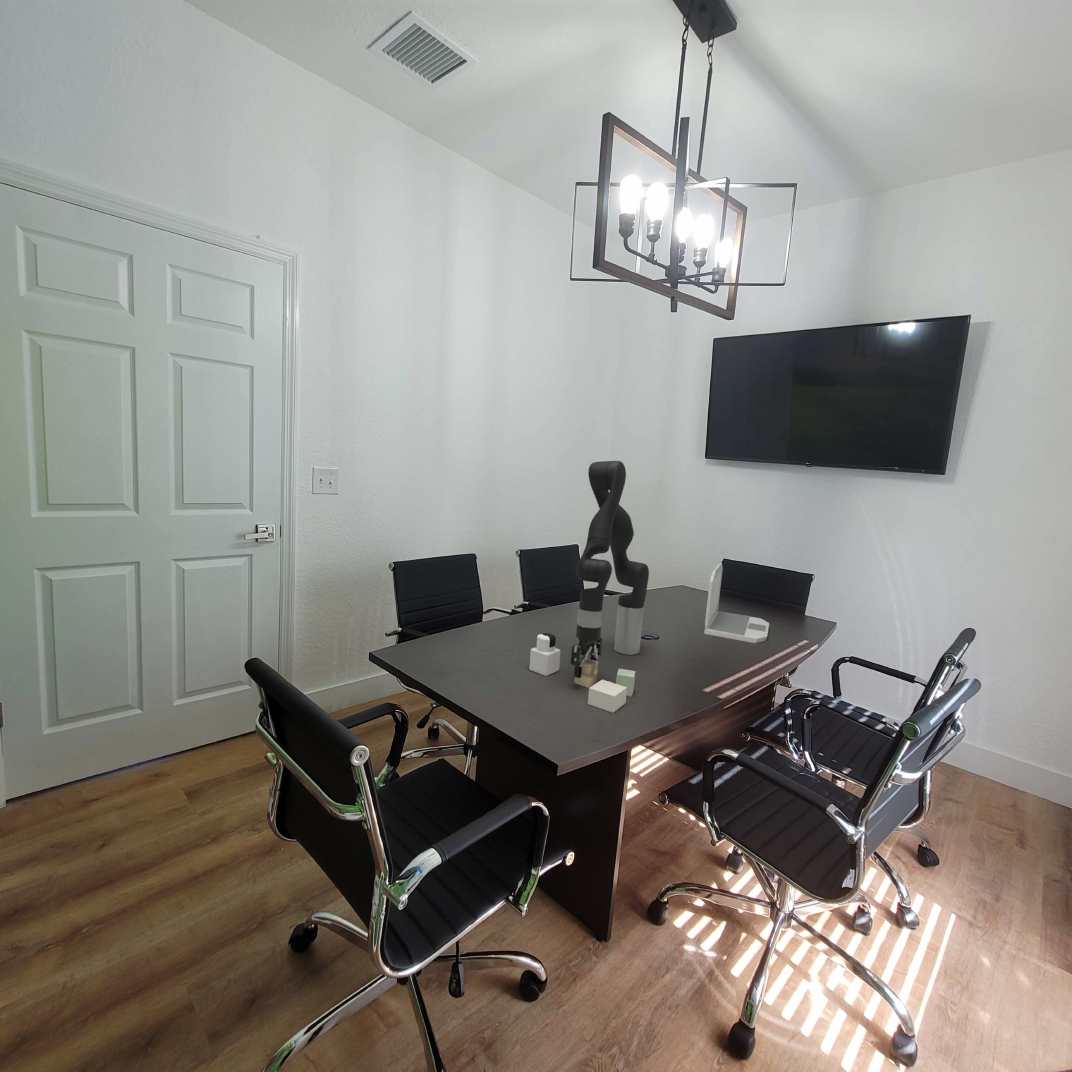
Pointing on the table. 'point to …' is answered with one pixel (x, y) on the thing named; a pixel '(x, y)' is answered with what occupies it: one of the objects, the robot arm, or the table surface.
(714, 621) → the laptop
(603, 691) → the cream base block
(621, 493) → the robot arm
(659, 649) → the table surface
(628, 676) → the sage block
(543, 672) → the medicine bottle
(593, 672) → the maple block
